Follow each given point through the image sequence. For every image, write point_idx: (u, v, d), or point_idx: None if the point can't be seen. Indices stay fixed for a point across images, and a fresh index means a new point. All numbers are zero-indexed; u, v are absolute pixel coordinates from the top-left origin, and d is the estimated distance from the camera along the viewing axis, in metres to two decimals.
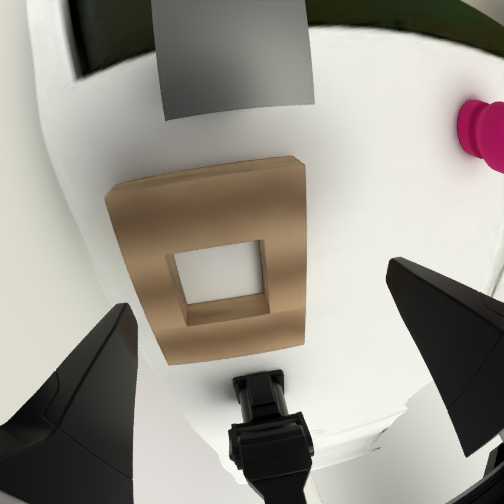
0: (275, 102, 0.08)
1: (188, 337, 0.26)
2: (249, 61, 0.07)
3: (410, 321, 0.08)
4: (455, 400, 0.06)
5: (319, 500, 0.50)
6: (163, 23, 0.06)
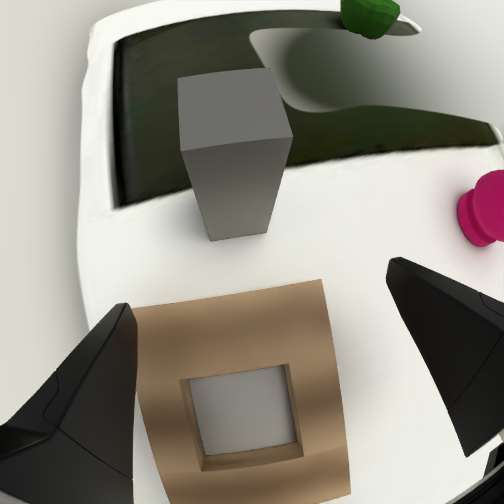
0: (262, 137, 0.11)
1: (202, 486, 0.16)
2: (241, 114, 0.11)
3: (410, 321, 0.08)
4: (455, 400, 0.06)
5: None
6: (184, 96, 0.11)
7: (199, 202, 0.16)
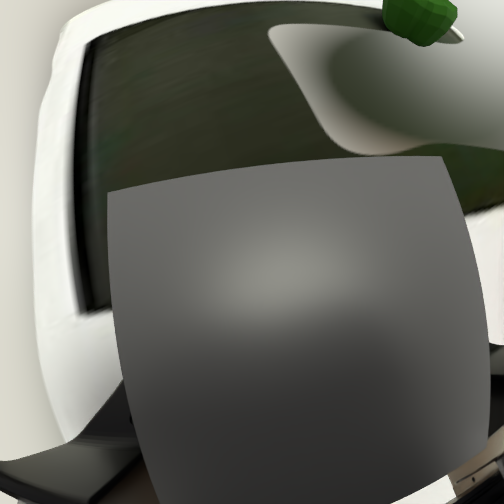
0: (425, 481, 0.02)
1: None
2: (380, 417, 0.03)
3: None
4: None
5: None
6: (138, 311, 0.03)
7: None
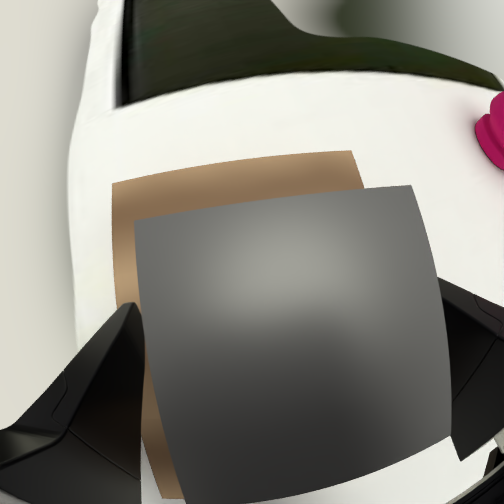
0: (393, 459, 0.03)
1: None
2: (350, 399, 0.04)
3: None
4: None
5: None
6: (162, 314, 0.04)
7: None
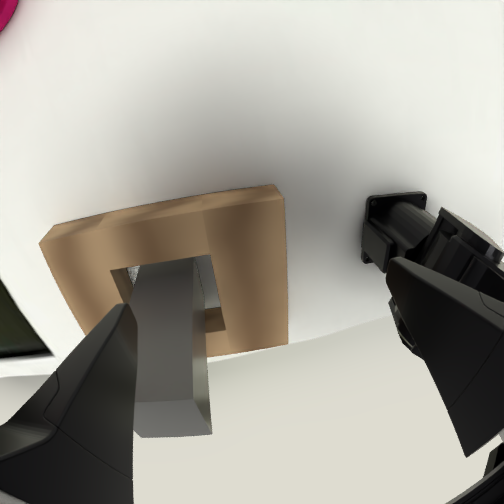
0: (197, 410, 0.13)
1: (243, 329, 0.24)
2: (174, 418, 0.13)
3: (410, 321, 0.08)
4: (455, 400, 0.06)
5: None
6: (160, 435, 0.14)
7: None
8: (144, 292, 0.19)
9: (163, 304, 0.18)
